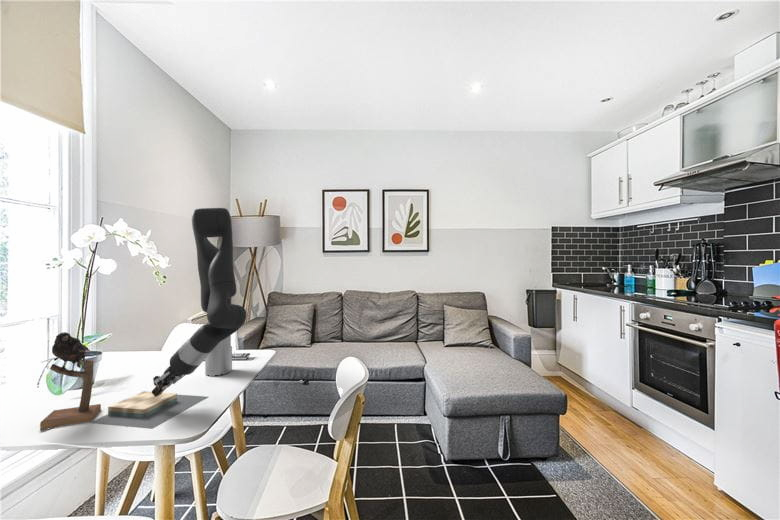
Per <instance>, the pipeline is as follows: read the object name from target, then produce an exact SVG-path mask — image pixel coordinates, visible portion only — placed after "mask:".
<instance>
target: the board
mask: <svg viewBox="0 0 780 520" xmlns="http://www.w3.org/2000/svg"><path fill="white" fill-rule="evenodd" d="M177 395H178V393H171V392H162V394H161V395H159V396H157V397H155V396H154V395H153V394H152V391H142V392H140V393H136V394H135V395H132V396H130V397H128V398H126V399H123V400H120V401H118V402H116V403H114V404H111V405H109V406H108V407H107V414H108V415H113V416H125V417H137V418H146V417H148V416H149V415H151V414H153V413H155V412H157V411H159V410H161V409H163V408H165V407H167V406H169V405H171V404H173V403H175V402H177Z"/></svg>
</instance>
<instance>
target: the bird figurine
mask: <svg viewBox="0 0 780 520" xmlns="http://www.w3.org/2000/svg"><path fill="white" fill-rule="evenodd" d="M51 352H52V354H53V355H54V356H55V357H56V358H58V359H60V360H61V361H63V365H62V366H59V365H57V364H55V363H52V365H51V366H50V367H49V370H51V371H53V372H54V373H57V374H59V375H65V376H66V377H73V378H81V379H82V389H81V397H80V402H79V406H77V407H75V406H74V407H68V408H61V409H60V408H59V409H55V410H53V411H52V412H51V413H49V414H48V415H47V416H46V417H44V419H42V420H41V422H40V423H39V425H40V426H39V429H40V431H43V430H42V429H44V430H49V429H48V428H51V429H56V428H58V427H60V426H66V425H67V426H68V425H74V424H80V423H87V422H92V421H94V420H95V417H96V416H97V415H98V414H99V413H100V412H101V410H102V408H101V407H102V406H101V405H102V404H101V403H98V404H97V403H96V404H91V405H90V402H91V399H92V390H93V380H94V378H93V377H94V360H92V359H91V360H86V355H85V354H86V353H89V352H91V350H90V349H89V347H87V346H86V345H85V344H83V343H82V342H81V340H80V339H79V338H76V337H73V336H71V334H70V333H69V332H60V333H58V334H57V335H55V340H54V342H53V345H52V347H51ZM67 362H70V363H72V368H71V369H67V367H65V365H66V363H67ZM75 364H76V366H77V368H79V369H81V366H82V369H83V371H80V370H74V369H75V368H74V367H75ZM55 427H56V428H55Z"/></svg>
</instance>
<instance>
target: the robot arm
mask: <svg viewBox="0 0 780 520" xmlns="http://www.w3.org/2000/svg"><path fill="white" fill-rule="evenodd" d="M191 225H192V226H191V227H192V231H193V237H194V241H195V247H196V260H197V270H198V271H197V272H198V277H199V282H200V285H199V286H200V307H201V309H202V311H203V312H204V313H206V318H207V321H208V322H206V323H205V324H203V325H201V326H200V327H199V328H197V330H195V332H194V333H193V334H192V335H191V336H190V337H189V338H188V339H186V341H185V342H184V343H183V344H182V345H181V346H180V347H179V348H178V349H177V350H176V351H175V353H174V354H173V355H171V357H170V359H169V366H168V367H167V368H166V369H165V371H164V372H163V374H162V375H156V376H154V377H153V378H152V380H153V381H152V382H153V385H154V386H155V387H154V388H153V389H152V390H151V392H152V394H153V395H154V396H155V397H157V396H159V395H161V394H162V393H164V391H165V390H166V389H167V388H170V387H171V385H174V384H176V383H178V381H180V380H181V379H183V378H184V377H185V376H187V375H191V374H192V373H194V372H195V371H196V370H197V368H198V367H199V366H200V365H201V364H203V362H204V366H205V368H204V369H205V372H204V374H205V375H206V376H208V375H209V376H210V377H215V375H218V376H222V375H221V374H223V375H226V373H227V374H229V373H231V371H232V370H233V347H232V335H233V334H234V333H236V332H237V331H238V330H240V329H241V328H242V327H243V326H244V324H245V322H246V320H247V311H246V308H244V307H243V306H242V305H239V304H233V303H232V298H233V297H234V296H236V294H237V291H238V290H237V283H236V282H237V281H236V276H235V269H234V248H233V247H234V244H233V228H232V227H233V225H232V217H231V213H230V211H229V210H228V208H225V207H213V208H212V207H211V208H210V207H205V208H203V207H202V208H196V209H194V210H192V214H191ZM208 238H221V244H220V247H219V248H218V247H216V245H214V244H213V243H212V242H211V241H210V240H209V239H208ZM228 372H229V373H228ZM209 376H208V377H209Z"/></svg>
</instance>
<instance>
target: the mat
mask: <svg viewBox="0 0 780 520" xmlns="http://www.w3.org/2000/svg"><path fill="white" fill-rule="evenodd" d="M208 398H209V396H204V395H190V394H189V395H188V394H177V402H175V403H173V404H171V405H169V406H167V407H165V408H163V409H161V410H159V411H157V412H155V413H153V414H151V415H149V416H148V417H146V418H137V417H125V416H113V415H108V413H107V414H105V415H103V416H101V417H99V418H97V419H93V420H92V421H89V424H95V425H106V426H107V425H108V426H116V427H117V426H119V427H126V428H127V427H130V428H137V429H138V428H139V429H155V428H157V427H158V426H160V425H162V424H164V423H165V422H167V421H168V420H169V421H170V420H171V419H172V418H174V417H176V416H178V415H180V414H181V413H183V412H185V411H186V410H188V409H190V408H192V407H193V406H195V405H197V404H200V403H201V402H202V401H205V400H206V399H208Z"/></svg>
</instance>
